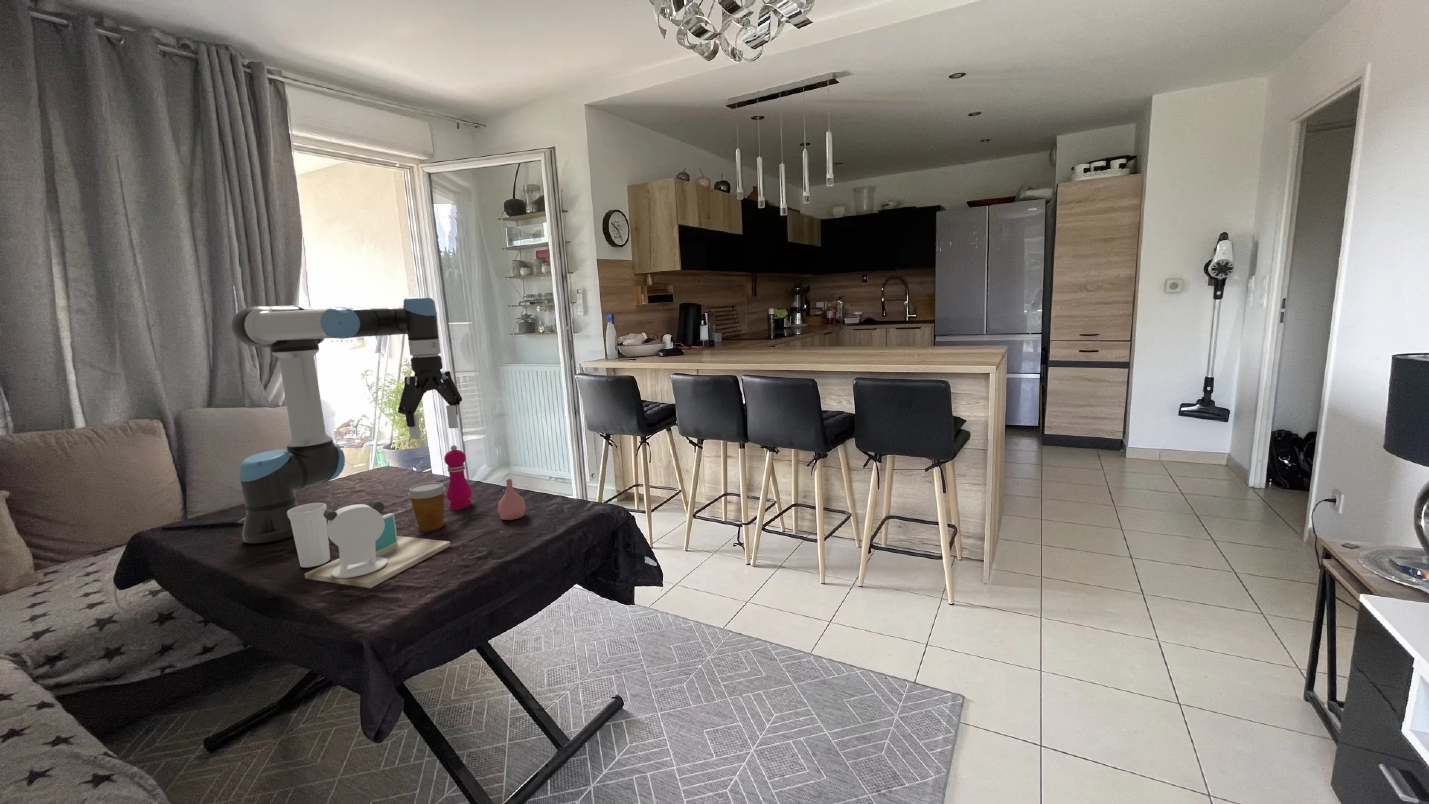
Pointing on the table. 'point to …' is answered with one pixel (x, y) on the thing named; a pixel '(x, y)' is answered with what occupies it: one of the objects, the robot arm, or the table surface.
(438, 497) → the disposable coffee cup
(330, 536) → the panda figurine
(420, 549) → the board
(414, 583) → the table surface
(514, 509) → the pink bulbous piece
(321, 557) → the cup
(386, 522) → the tile
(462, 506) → the pepper mill
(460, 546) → the table surface
